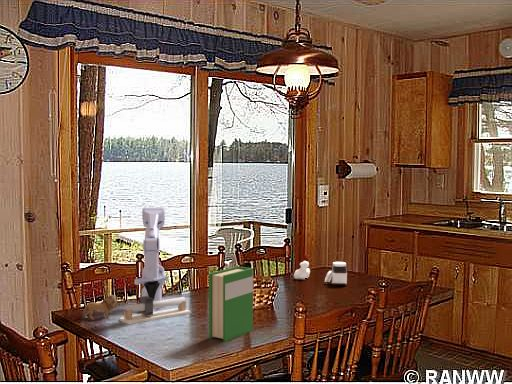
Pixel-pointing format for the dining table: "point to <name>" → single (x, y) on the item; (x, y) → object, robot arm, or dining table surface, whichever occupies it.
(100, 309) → the lion figurine
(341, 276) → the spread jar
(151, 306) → the collar
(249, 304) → the hardback book
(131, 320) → the pipe stand
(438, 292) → the dining table surface
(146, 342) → the dining table surface
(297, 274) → the duck figurine
